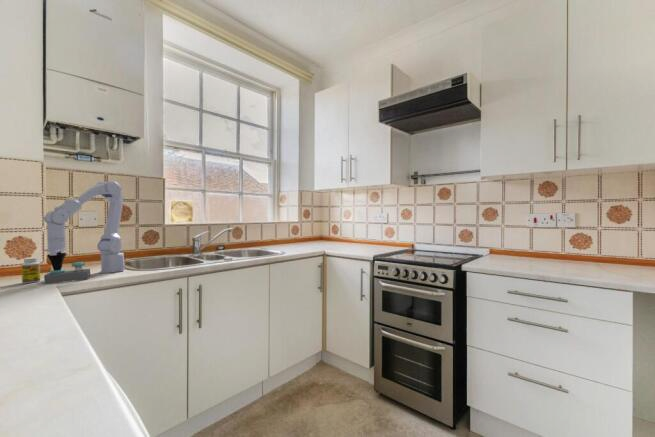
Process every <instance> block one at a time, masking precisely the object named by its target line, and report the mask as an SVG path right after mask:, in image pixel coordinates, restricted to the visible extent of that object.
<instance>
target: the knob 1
mask: <svg viewBox="0 0 655 437" xmlns="http://www.w3.org/2000/svg"><path fill="white" fill-rule="evenodd" d="M65 271H66V270H65V268H61V270H55V271H54V270H53V269H51V270H50V274H59V273H64V272H65Z"/></svg>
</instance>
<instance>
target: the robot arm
mask: <svg viewBox="0 0 655 437" xmlns="http://www.w3.org/2000/svg"><path fill="white" fill-rule="evenodd" d="M122 188H123V187H122V186H121V185H120V184H119V182H117V181H114V180H111V181H98V182H97V183H96V184H94V185H91V187H90V188H88V189H87V190H85V192H83V193H82V194H80V195H79V196H77V197H76V198H75V199H74V198H69V199H65V200H64V201H63V203H62V204H61V205H59V206H55V207H54V210H50V211H48V212H46V213H45V215H44V216H43V221H44V222H45V223H46V229H47V230H46V232H47V249H46V248H45V249H44V250H43V251H44V252H48V253H49V254H47V255H46V257H47V258H48V259H49V261H50V264H51V266H52V270H54V271H55V270H61V269H63V268H62V267H63V263H64V260H65V258H66V256H67V252H65V251H67V246H66V244H67V243H66V242H67V241H66V240H67V238H66V223H67V222H68V221H69V218H70V217H72V216H73V215H74V214H76V213H77V212H79V211H80V210H82V207H83V206H82V205H83V204H86V203H87V202H88V201H90V200H92V199H93V198H96V196H102V197H104V198H105V199H107V201H108V202H109V205H108V212H107V217H106V223H105V229H104V234H102V236H101V237H100V240H99V242H98V243H97V244H96V245H97V249H98V251H100V271H99V274H107V273H108V274H109V273H116V272H124V271H125V267H126V264H125V254H124V252H120V251H121V250H122V249H123V248H122V247H123V244H122V238H121V236H120V234H119V230H120V225H121V219H122V212H123V206H124V196H123V193H122Z"/></svg>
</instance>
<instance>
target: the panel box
mask: <svg viewBox="0 0 655 437" xmlns="http://www.w3.org/2000/svg"><path fill="white" fill-rule="evenodd" d="M90 277H91V268H85V269H84V268H82V271H79V272H75V269H73V270H72V269H71V270H69V269H68V270H65V272H64V273H59V274H50V272H49V271H48V272H47V273H46V274H44V276H43V279H44V281H43V283H44V284H55V283H64V282H63V281H66V282H73V281H72V280H76V281H85V280H89V278H90Z"/></svg>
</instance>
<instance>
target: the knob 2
mask: <svg viewBox="0 0 655 437" xmlns="http://www.w3.org/2000/svg"><path fill="white" fill-rule="evenodd" d="M83 266H86V262H85V261H76V262H72V263H71V267H73V268H74V270H75V272H79V271H82V269H83Z"/></svg>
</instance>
